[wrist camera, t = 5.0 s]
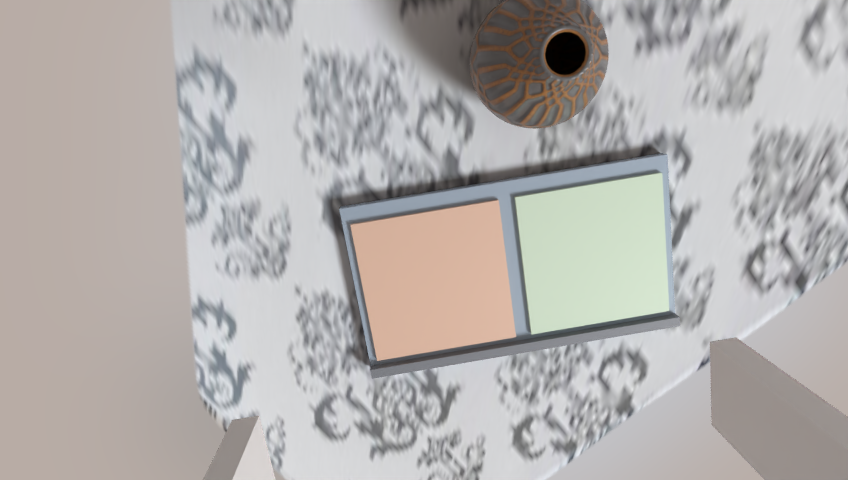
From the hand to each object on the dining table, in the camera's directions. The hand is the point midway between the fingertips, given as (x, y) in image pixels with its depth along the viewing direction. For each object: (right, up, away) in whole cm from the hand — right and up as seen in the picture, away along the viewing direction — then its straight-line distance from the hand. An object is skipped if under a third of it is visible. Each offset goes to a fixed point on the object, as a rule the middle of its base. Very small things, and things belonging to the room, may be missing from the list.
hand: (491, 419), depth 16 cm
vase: (+4, +15, +17) cm, 23 cm away
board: (+4, +4, +20) cm, 20 cm away
